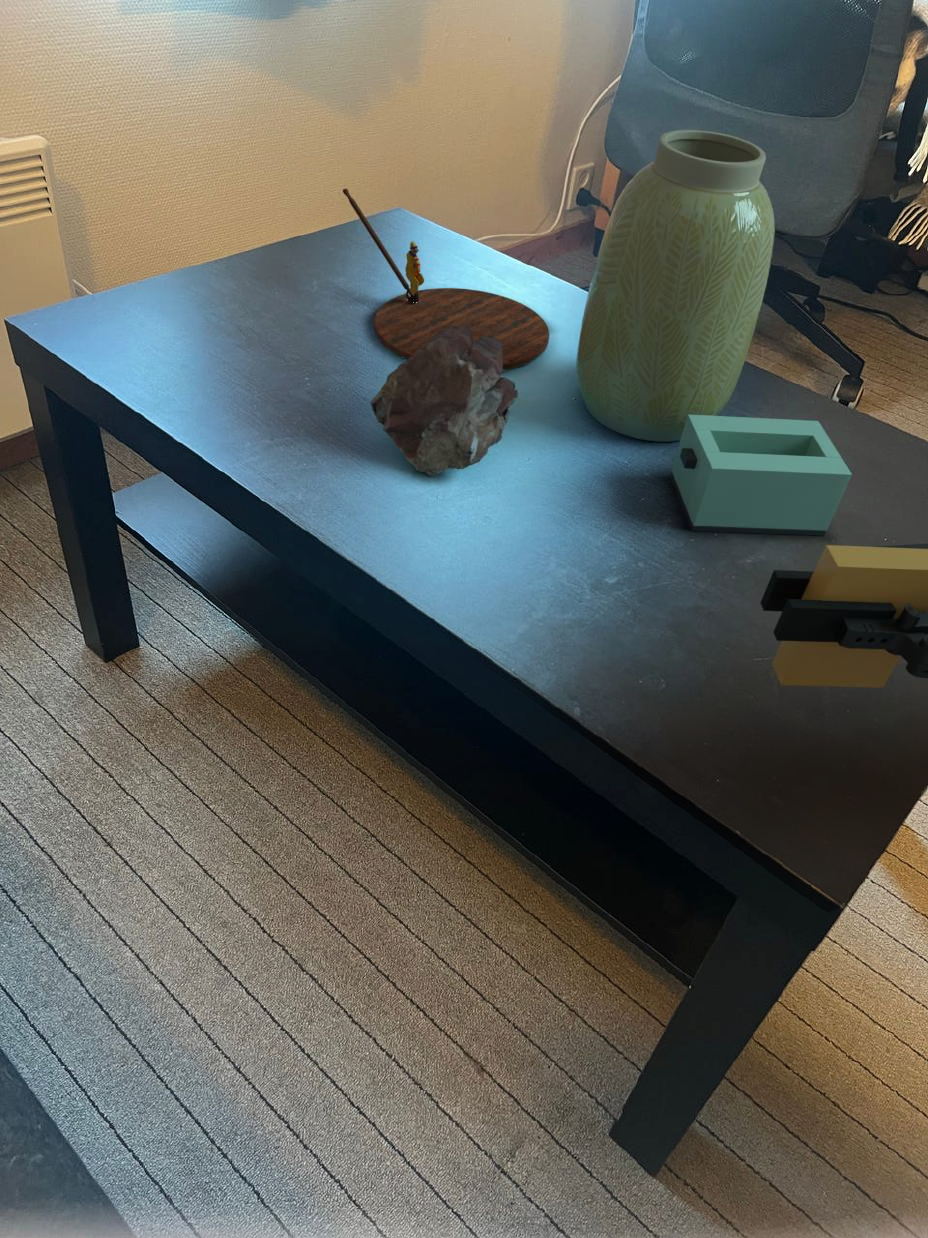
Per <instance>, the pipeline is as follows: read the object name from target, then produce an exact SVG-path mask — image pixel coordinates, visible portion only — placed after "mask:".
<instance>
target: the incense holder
mask: <svg viewBox="0 0 928 1238" xmlns="http://www.w3.org/2000/svg"><path fill="white" fill-rule="evenodd" d="M342 193H343V194H344V195H345V197H346V198H347V199H348V202H349V204H350V205H351V207H352V209H353V211H354V212H355V213H356V215H357V217H358V218H359V220H360V221H361V223H362V224H363V226H364V227H365V229H366V231H367V232H368V234H369V236H370V237H371V238H372V240H373V242H374V243H375V245H376V246H377V248H378V249H379V251H380V253H381V254H382V256H383V257H384V259H385V260H386V262H387V264H388V265H389V267H390V268H391V270H392V272H393V273H394V274H395V276H396V278H397V279H398V281H399V282H400V284H401V286H402V287H403V289H404V290H406V292H405V293H403V294H400V295H397V296H395V297H393V298H391V299H389V300H387V301H386V302H385V303H383V305H381V306H380V307H379V308H378V310H377V311H376V313H375V315H374V319H373V329H374V333H375V335H376V337H377V339H378V340H379V341H380V343H381V344H382V345H383V346H384V347H386V348H387V349H388V350H389V351H391V352H392V353H393V354H396V355H397V356H399V357H401V358H403V359H404V360H407V361H408V359H409V358H410V357H412V356H414V355H415V352H416V351H417V350H418V348H420V347H421V346H422V345H423V344H424V343H425V342H427V341H428V340H430V339H431V338H432V337H434V336H435V335H436V334H437V333H438V332H439V331H440V330H442V329H446V330H447V329H451V328H452V327H453V326H454V325H457V326H463V327H468V328H469V329H470V330H471V331H472V332H473V343H475V342H476V341H477V340H478V339H479V338H481V337H482V336H485V337H489V338H494V339H499V340H500V341H501V343H502V348H503V370H502V371H506V370H511V369H515V368H518V367H519V368H520V367H522V366H524V365H528V364H529V363H531V362H533V361H535V360H536V359H537V358H540V356H541V355H542V354H544V352H545V351H546V349H547V348H548V345H549V342H550V341H549V340H550V330H549V327H548V324H547V323H546V321H545V320H544V318H543V317H541V315H539V313H538V312H536V311H535V310H534V309H532V308H530V307H529V306H527V305H525V304H523V303H521V302H519V301H517V300H514V299H512V298H509V297H507V296H503V295H500V294H496V293H492V292H488V291H483V290H476V289H469V288H459V287H458V288H456V287H441V288H438V287H437V288H426V289H425V288H424V289H419V288H420V286H421V285H424V283H425V277H424V276H423V274H422V273H421V263H420V258H419V257H418V255H417V254H418V252H419V251H420V250H419V249H418V245H417V244H416V243H415V241H414V240H412V241H410V244H409V250H408V252H407V253H406V265H405V267H404V268H405V269H404V270H405V277H406V279H407V280H406V279H405V277H404V276H403V274H402V273H401V271H400V269H399V268H398V266H397V265H396V263H395V262H394V260H393V258H392V257H391V255H390V254H389V252H388V250H387V249H386V247H385V245H384V244H383V243H382V241H381V240H380V238H379V237H378V235H377V234H376V232H375V230H374V228H373V227H372V225H371V224H370V222H369V221H368V219H367V218H366V216H365V214H364V213H363V212H362V210H361V208H360V206H359V205H358V203H357V202H356V200H355V199H354V197H352V196H351V194H350V191H349V189H348V188H343V189H342ZM407 281H408V282H409V283H408V282H407ZM407 299H408V300H407ZM413 302H414V303H413ZM416 302H417V303H416Z"/></svg>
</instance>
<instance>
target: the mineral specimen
mask: <svg viewBox="0 0 928 1238" xmlns="http://www.w3.org/2000/svg"><path fill="white" fill-rule="evenodd" d="M503 371H504V370H503V348H502V343H501V341H500V340H499V339H494V338H489V337H485V336H482V337H481V338H479V339H478V340H477V341H476V342H475V343H473V332H472V331H471V330H470V329H469V328H468V327H463V326H457V325H454V326H453V327H452V328H451V329H447V330H446V329H442V330H440V331H439V332H438V333H437V334H436V335H435V336H434V337H432V338H431V339H430V340H428V341H427V342H425V343H424V344H423V345H422V346H421V347H420V348H418V350H417V351H416V352H415V355H414V356H412V357H410V358H409V359H408V360H407V361H406V362H402V363H400V364H399V365H397V367H396V368H395V369H394V370H393V371H391V372H390V373H389V374H388V375H387V376H386V377H387V378H386V381H385V382H384V384H383V385H382V386H381V388H380V389H379V391H378V392H377V393H376V395H375V396H374V397H373V398H372V399H371V400H370V402H369V404H370V406H371V410H372V412H373V415H374V416H375V418H376V421H377V423H378V424H380V425H381V426H382V431H384V432H385V434H387V435H388V436H389V437H390V438H391V439H392V441H393V442H394V444H395V446H396V447H397V449H398V450H399V451H400V452H402V453H403V457H404V458H405V460H406V461H408V462H409V463H410V464H411V465H413V467H414V468H415V470H416V471H417V472H419V473H424V472H425V473H426V474H427V475H428V476H430V477H436V476H438V474H439V473H443V472H444V471H446V470H450V469H457V470H464V469H466V468H468V467H470V466H473V465H475V464H477V463H480V462H481V460H482V459H483V458H484V457H485V456H486V455H487V454H488V452H489V448H490V447H492V446H494V445H497V444H498V443H499V442H500V441H501V440H502V437H503V433H504V430H505V427H506V425H507V423H508V421H509V416H510V414H511V410H510V409H509V408H510V407H511V406H513V404H514V403H515V402H516V400H517V399H518V397H519V391H518V389H516V383H515V382H514V381H513V380H511V379H510V378H508V377H503V376H502V373H503Z"/></svg>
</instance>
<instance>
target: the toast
mask: <svg viewBox="0 0 928 1238" xmlns="http://www.w3.org/2000/svg"><path fill="white" fill-rule="evenodd" d="M813 571H814V572H813V575H812V577H811V579H810V581H809V583H808V586H807V588H806V590H805V592H804V594H803V597H802V600H822V601H849V602H879V603H892V604H893V605H894V607H895V609H896V610H897V611H896V613H895V615H894V617H893V619H898V618H899V616H900V615H901V613H902V611H903V609H904V607H905V606H906V605H907V604H910V603H911V606H910V608H911V607H912V606H913V607H914V609H915V610H916V611H917V612H928V549H913V548H888V547H874V546H862V545H861V546H859V545H835V544H826V545H824V549H823V551H822V553H821V555H820V557H819V560H818V561H817V564H816V566H815V568H814V570H813ZM910 608H909V609H910ZM901 658H902V657H901V656H900V655H899V656H898V655H893V654H890V653H889V652H887V651H886V650H885V649H865V648H864V649H859V648H857V649H852V648H845V647H842V646H839V644H838V642H806V641H780V645H779V647H778V649H777V650H776V653H775V655H774V658H773V660H772V662H771V666H772V667H773V670H774V672H775V675H776V677H777V679H778V681H779V684H780V686H788V687H789V686H790V687H793V686H795V687H796V686H797V687H833V688H834V687H835V688H836V687H839V688H841V687H842V688H876V689H877V688H879V689H881V688H882V689H883V688H884V687H885V685H886V684H887V682H888V680H889V678H890V676H891V675H892V673H893V672H894V670H895V668H896V667H897V664H898V663H899V661H900V660H901Z"/></svg>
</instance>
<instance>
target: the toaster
mask: <svg viewBox="0 0 928 1238" xmlns="http://www.w3.org/2000/svg"><path fill="white" fill-rule="evenodd" d="M669 476H670V479H671V481H672V484H673V486H674V490H675V491H676V495H677V497H678V501H679V502H680V505H681V507H682V510H683V513H684V515H685V518H686V520H687V523H688V526H689V528H690V531H691V532H711V533H713V532H714V533H736V534H737V533H740V534H743V533H744V534H766V535H767V534H768V535H792V536H794V535H795V536H821V537H824V536H825V535H826V533H827V531H828V528H829V526H830V524H831V522H832V520H833V517H834V515H835V514H836V510H837V508H838V507H839V504H840V503H841V500H842V498H843V495H844V492H845V491H846V488H847V486H848V485H849V481H850V480H851V478H852V476H853V474H852V471H850V469H849V468H848V465H847V464H846V463H845V461H844V459H843V458H842V456H841V454H840V453H839V451H838V449H837V448H836V447H835V445H834V443H833V442H832V440H831V439H830V437H829V435H828V434H827V431H826V430H825V429H824V428H823V426H822V424H821V423H820V422H819V420H805V419H786V418H785V419H784V418H768V417H766V418H764V417H747V416H746V417H745V416H725V415H718V416H708V415H689V414H688V416H687V419H686V423H685V426H684V430H683V433H682V437H681V440H679V444H678V448H677V450H676V453H675V458H674V461H673V464H672V468H671V472H670V475H669Z"/></svg>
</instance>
